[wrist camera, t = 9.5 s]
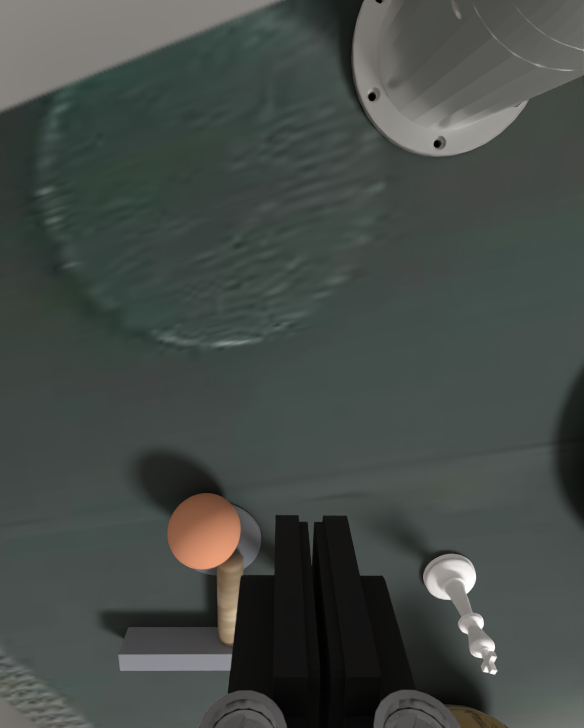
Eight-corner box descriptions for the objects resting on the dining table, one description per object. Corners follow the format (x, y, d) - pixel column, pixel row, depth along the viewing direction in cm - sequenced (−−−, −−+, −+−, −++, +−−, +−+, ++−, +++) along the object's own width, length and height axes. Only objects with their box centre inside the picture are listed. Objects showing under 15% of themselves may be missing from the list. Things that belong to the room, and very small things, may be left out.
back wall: (128, 627, 46) (118, 654, 43) (310, 626, 47) (312, 654, 44) (130, 642, 47) (120, 670, 44) (310, 642, 47) (312, 670, 44)
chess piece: (415, 588, 46) (451, 688, 36) (434, 548, 44) (476, 641, 35) (461, 599, 46) (508, 700, 37) (482, 559, 45) (536, 654, 35)
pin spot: (171, 501, 42) (170, 502, 42) (261, 501, 42) (261, 503, 42) (176, 573, 44) (175, 575, 44) (261, 574, 44) (260, 575, 44)
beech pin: (233, 572, 41) (233, 650, 44) (248, 556, 43) (247, 631, 46) (211, 562, 42) (213, 639, 45) (226, 547, 44) (227, 621, 47)
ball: (164, 576, 39) (183, 511, 44) (234, 585, 39) (247, 518, 43) (151, 544, 35) (174, 475, 39) (230, 553, 35) (245, 483, 39)
